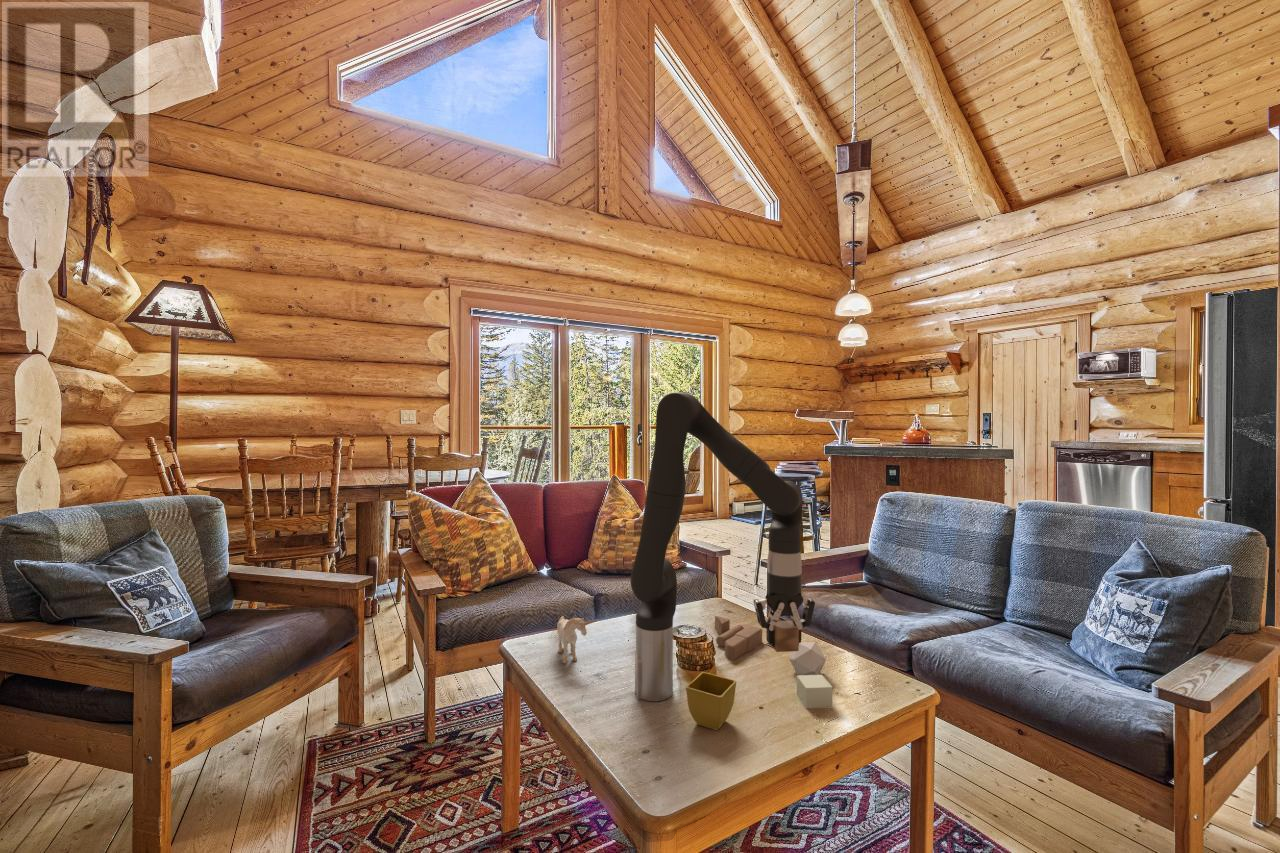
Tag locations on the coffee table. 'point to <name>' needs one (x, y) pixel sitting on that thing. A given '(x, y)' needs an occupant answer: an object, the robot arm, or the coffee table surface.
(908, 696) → the coffee table surface
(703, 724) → the flower pot
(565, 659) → the unicorn figurine
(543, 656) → the coffee table surface
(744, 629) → the wooden block set
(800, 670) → the die
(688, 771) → the coffee table surface
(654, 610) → the robot arm
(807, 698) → the sage block
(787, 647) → the walnut block
